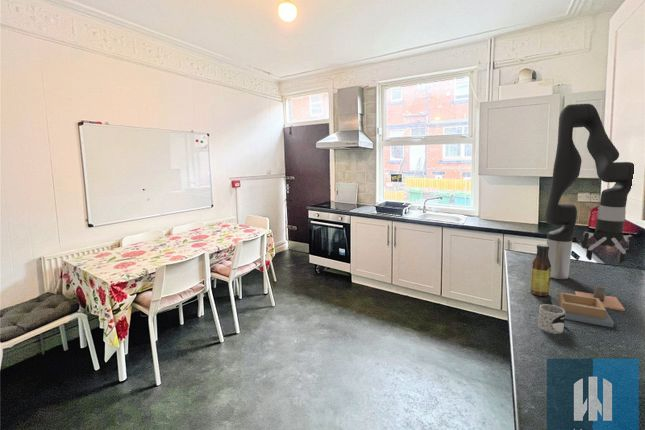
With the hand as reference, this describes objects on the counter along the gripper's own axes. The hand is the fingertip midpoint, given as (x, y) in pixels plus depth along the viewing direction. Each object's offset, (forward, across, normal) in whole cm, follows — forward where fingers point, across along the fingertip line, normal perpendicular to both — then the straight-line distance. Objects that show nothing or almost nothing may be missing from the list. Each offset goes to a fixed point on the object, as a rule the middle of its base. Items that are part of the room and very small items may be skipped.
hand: (604, 261), depth 120 cm
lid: (+16, 0, +1) cm, 16 cm away
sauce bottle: (+16, +19, +2) cm, 25 cm away
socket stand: (+15, +8, +16) cm, 23 cm away
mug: (+15, +17, +32) cm, 39 cm away
